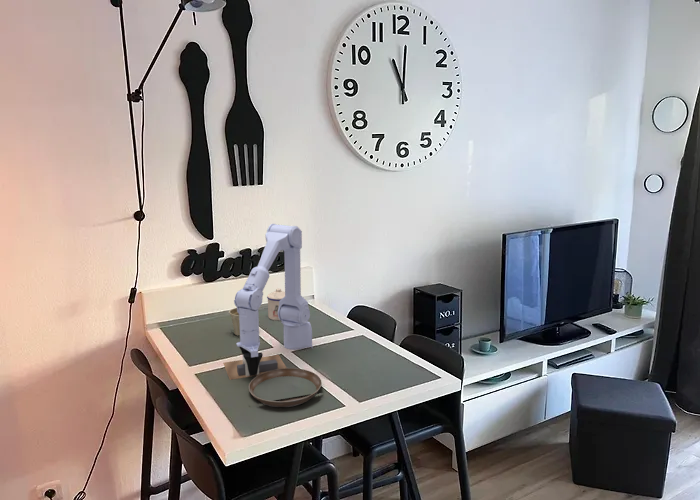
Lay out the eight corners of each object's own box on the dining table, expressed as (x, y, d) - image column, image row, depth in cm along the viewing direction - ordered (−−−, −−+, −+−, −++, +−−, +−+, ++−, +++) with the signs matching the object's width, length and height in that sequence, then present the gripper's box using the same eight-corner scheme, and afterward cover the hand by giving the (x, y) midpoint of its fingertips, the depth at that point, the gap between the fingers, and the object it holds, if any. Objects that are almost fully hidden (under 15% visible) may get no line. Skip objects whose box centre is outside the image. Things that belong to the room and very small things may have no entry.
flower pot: (261, 331, 207) (260, 309, 205) (244, 339, 199) (243, 316, 197) (242, 327, 212) (241, 305, 210) (224, 334, 204) (223, 312, 202)
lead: (275, 366, 175) (275, 359, 174) (277, 369, 173) (277, 362, 172) (237, 372, 171) (236, 365, 170) (238, 375, 169) (238, 368, 168)
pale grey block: (255, 367, 174) (255, 352, 173) (259, 374, 169) (258, 359, 168) (243, 369, 173) (242, 354, 172) (246, 376, 168) (245, 361, 167)
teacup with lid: (272, 322, 217) (271, 293, 214) (264, 315, 225) (263, 287, 222) (300, 317, 222) (300, 289, 220) (292, 310, 230) (291, 283, 228)
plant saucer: (259, 418, 147) (259, 406, 146) (241, 385, 165) (241, 374, 165) (332, 403, 155) (332, 392, 154) (307, 373, 173) (307, 363, 173)
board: (278, 357, 184) (278, 354, 184) (288, 373, 172) (288, 370, 172) (223, 365, 178) (223, 362, 178) (229, 382, 166) (229, 379, 166)
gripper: (232, 322, 173) (233, 362, 176) (240, 338, 160) (242, 382, 163) (254, 319, 176) (256, 359, 179) (264, 335, 162) (265, 378, 165)
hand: (251, 370), depth 171 cm, fingers open, 6 cm apart
